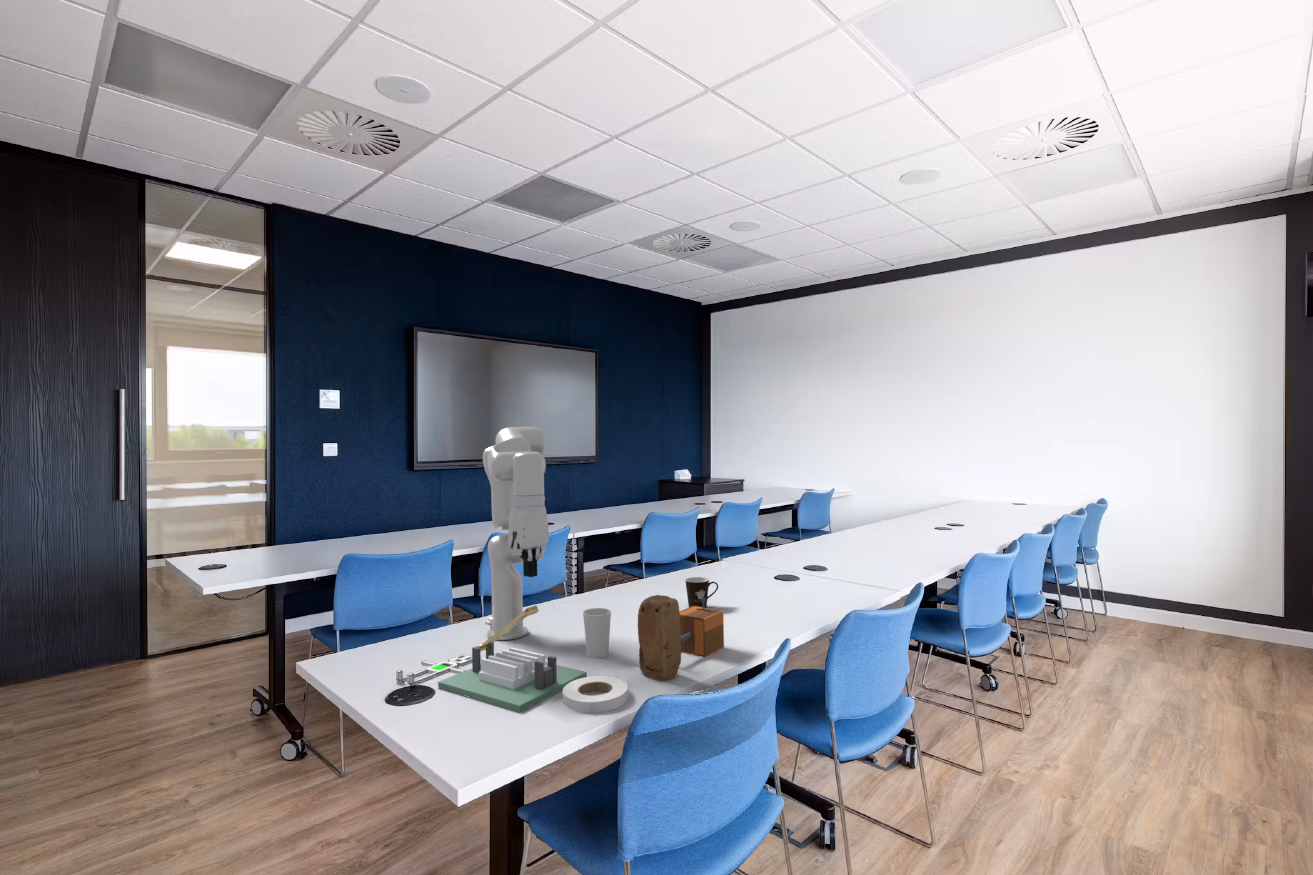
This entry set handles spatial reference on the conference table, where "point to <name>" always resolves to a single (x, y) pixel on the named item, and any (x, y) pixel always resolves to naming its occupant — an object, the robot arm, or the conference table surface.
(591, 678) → the roll of tape
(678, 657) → the block
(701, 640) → the clamp
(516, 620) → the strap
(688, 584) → the coffee mug
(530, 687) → the motherboard
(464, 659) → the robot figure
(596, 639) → the cup
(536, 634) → the conference table surface
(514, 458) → the robot arm
